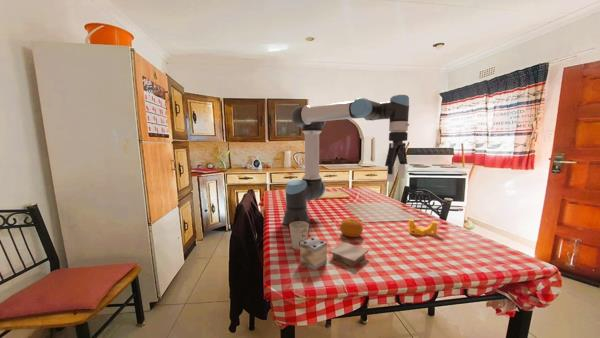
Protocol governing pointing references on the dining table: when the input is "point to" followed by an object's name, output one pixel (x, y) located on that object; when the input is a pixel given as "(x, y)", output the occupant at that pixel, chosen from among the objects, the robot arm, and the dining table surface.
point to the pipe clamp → (421, 231)
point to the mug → (298, 233)
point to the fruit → (351, 227)
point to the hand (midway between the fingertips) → (396, 179)
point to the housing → (313, 253)
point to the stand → (348, 253)
